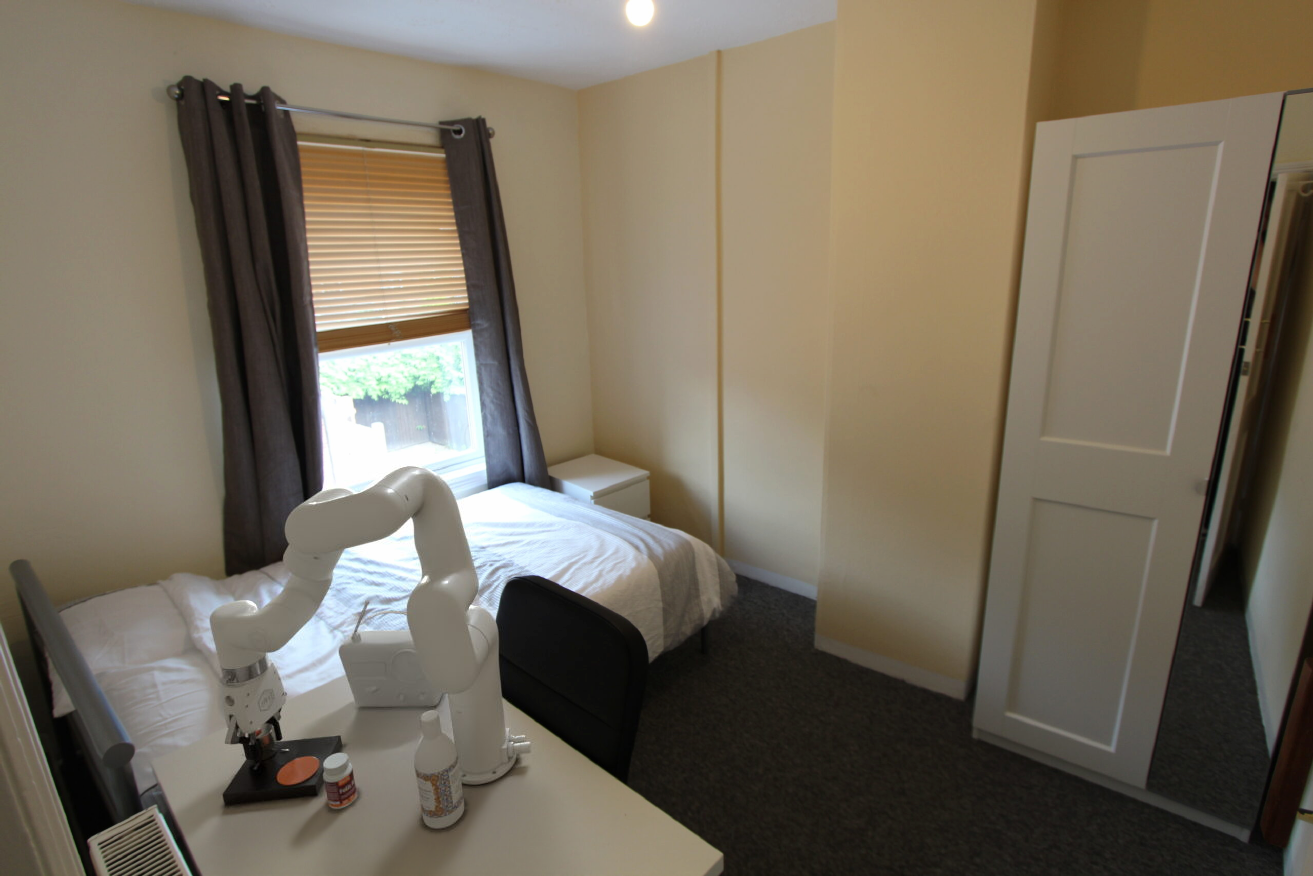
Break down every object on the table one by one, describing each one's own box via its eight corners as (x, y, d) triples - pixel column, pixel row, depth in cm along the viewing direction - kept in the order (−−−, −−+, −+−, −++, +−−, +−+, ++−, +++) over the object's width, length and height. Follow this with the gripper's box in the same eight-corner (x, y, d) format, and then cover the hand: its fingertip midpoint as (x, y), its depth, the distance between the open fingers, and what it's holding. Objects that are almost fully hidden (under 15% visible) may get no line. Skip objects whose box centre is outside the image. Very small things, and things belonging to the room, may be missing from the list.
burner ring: (325, 755, 126) (324, 754, 126) (310, 783, 120) (310, 782, 120) (286, 759, 126) (286, 758, 126) (270, 787, 119) (269, 786, 119)
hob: (345, 741, 134) (342, 730, 133) (317, 796, 120) (315, 784, 119) (255, 750, 132) (252, 739, 131) (217, 807, 118) (214, 794, 118)
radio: (343, 713, 142) (324, 609, 135) (361, 689, 150) (343, 589, 143) (443, 712, 141) (428, 607, 134) (456, 688, 149) (443, 588, 142)
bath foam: (414, 820, 114) (398, 722, 108) (445, 792, 119) (431, 697, 114) (443, 836, 110) (427, 735, 105) (473, 807, 116) (460, 709, 111)
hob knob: (264, 743, 130) (259, 720, 129) (283, 745, 129) (278, 722, 128) (246, 759, 126) (241, 736, 125) (266, 762, 125) (261, 738, 124)
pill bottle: (346, 811, 116) (338, 772, 114) (322, 808, 117) (314, 768, 115) (363, 790, 121) (355, 752, 118) (340, 787, 122) (332, 749, 119)
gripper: (227, 697, 114) (248, 784, 119) (295, 642, 130) (311, 721, 135) (190, 693, 115) (212, 780, 120) (261, 640, 131) (279, 718, 136)
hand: (264, 748), depth 127 cm, fingers closed on hob knob, 4 cm apart
